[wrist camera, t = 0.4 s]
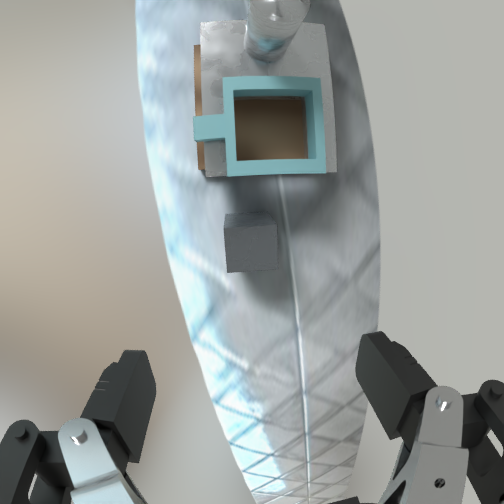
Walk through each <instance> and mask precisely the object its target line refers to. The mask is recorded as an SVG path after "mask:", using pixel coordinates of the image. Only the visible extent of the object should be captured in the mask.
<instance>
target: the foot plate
mask: <svg viewBox="0 0 504 504" xmlns="http://www.w3.org/2000/svg"><path fill="white" fill-rule="evenodd" d="M194 80H195V113H196V116H202V92H201V45H194ZM234 119H235V139H236V157H237V161H248V160H273V159H304V139H303V121H302V105H301V100H277V99H271V100H235V101H234ZM197 153H198V170H203V169H205V157H204V142H197Z"/></svg>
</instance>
